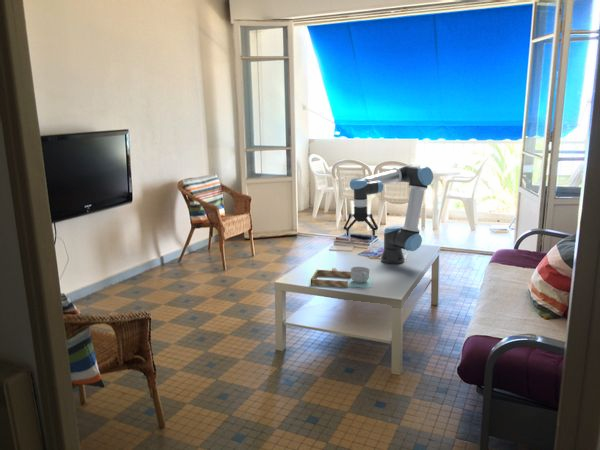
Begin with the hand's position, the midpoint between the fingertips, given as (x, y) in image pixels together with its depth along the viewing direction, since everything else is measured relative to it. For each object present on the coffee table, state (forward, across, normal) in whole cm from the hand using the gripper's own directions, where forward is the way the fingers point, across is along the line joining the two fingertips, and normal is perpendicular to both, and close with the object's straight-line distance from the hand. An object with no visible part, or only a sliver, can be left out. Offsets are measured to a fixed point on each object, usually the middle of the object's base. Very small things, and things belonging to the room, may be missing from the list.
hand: (360, 240), depth 313 cm
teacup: (+22, -1, +11) cm, 25 cm away
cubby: (+22, +16, +11) cm, 29 cm away
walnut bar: (+23, +16, -5) cm, 28 cm away
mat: (+22, 0, +11) cm, 25 cm away
